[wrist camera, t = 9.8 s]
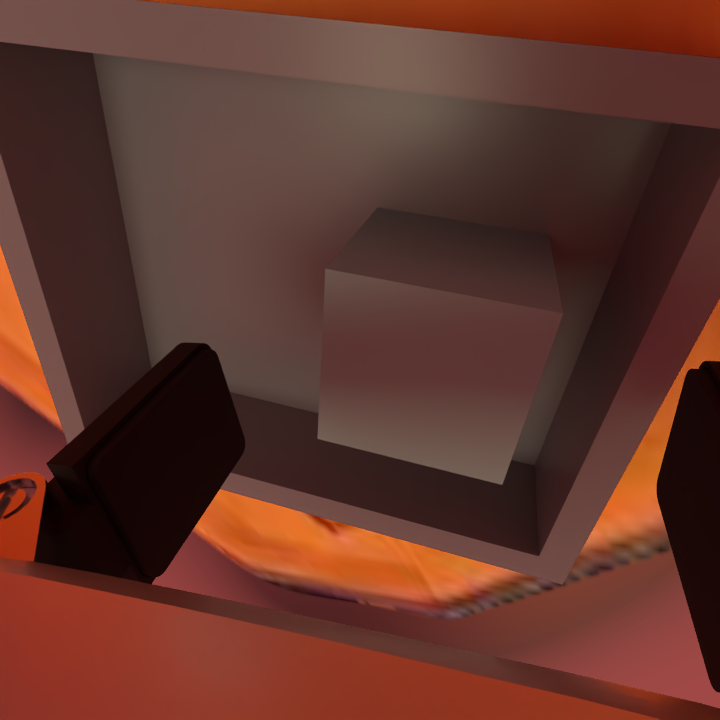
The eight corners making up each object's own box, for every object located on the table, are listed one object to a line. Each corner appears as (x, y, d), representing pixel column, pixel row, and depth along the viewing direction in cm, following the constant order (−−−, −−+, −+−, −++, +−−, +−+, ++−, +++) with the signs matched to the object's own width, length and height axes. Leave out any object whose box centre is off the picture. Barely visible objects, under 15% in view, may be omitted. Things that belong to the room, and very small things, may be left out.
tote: (729, 61, 12) (844, 70, 8) (552, 472, 19) (562, 584, 15) (77, -4, 15) (-91, -23, 11) (149, 374, 22) (68, 446, 18)
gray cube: (549, 234, 14) (563, 313, 10) (505, 377, 17) (502, 485, 13) (377, 207, 15) (325, 268, 11) (363, 347, 17) (317, 438, 13)
